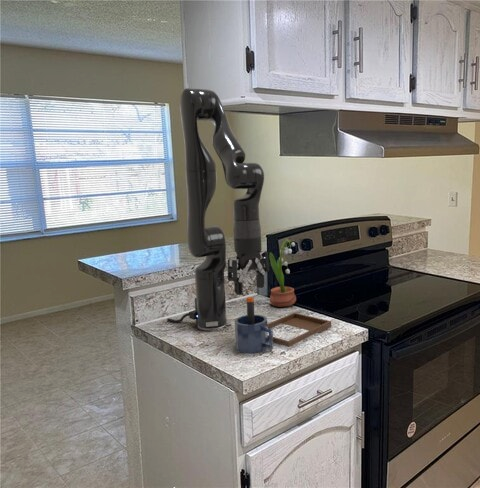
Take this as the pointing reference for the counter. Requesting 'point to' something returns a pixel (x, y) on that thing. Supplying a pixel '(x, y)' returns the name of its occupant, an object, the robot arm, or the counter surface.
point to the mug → (253, 335)
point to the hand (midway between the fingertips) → (250, 290)
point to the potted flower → (281, 280)
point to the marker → (250, 310)
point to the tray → (301, 322)
